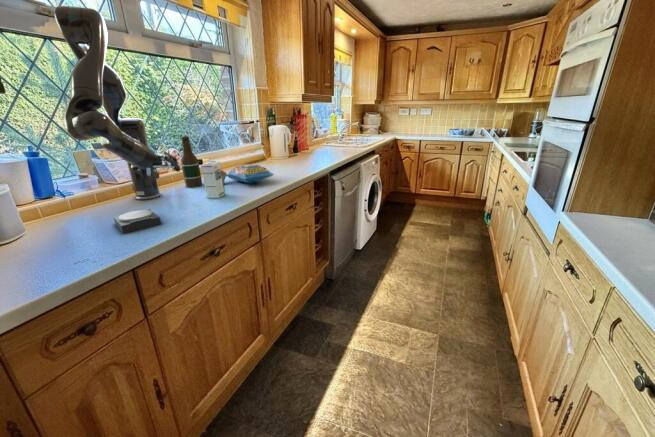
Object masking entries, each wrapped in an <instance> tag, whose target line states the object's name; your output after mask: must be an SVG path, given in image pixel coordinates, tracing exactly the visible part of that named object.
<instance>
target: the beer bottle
mask: <svg viewBox="0 0 655 437" xmlns="http://www.w3.org/2000/svg"><path fill="white" fill-rule="evenodd" d="M180 140H181V144H182V156H181V158H180V164H181V170H182V174H183V180H184V184H185V187H187V188H199V187H202V186H203V180H202V179H203V178H202V173H201V168H200V164H199V163H200V162H199V160H198V158H197V156H196V155H195V154H194V153H193V149H192V146H191V141H190V136H187V135H184V136H183V135H182V136H181V137H180Z"/></svg>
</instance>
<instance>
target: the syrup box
mask: <svg viewBox="0 0 655 437" xmlns="http://www.w3.org/2000/svg"><path fill="white" fill-rule="evenodd" d="M200 167H201V168H200V170H201V175H202V179H203V183H204V188H205V193H206V198H208V199H220V198H221V197H223V196H225V195H226V188H225V182H224V183H223V177H222V171H223V170H222V167H221V162H220V161H213V162H212V161H209V162H206V163H203V164H200ZM221 170H222V171H221Z"/></svg>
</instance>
